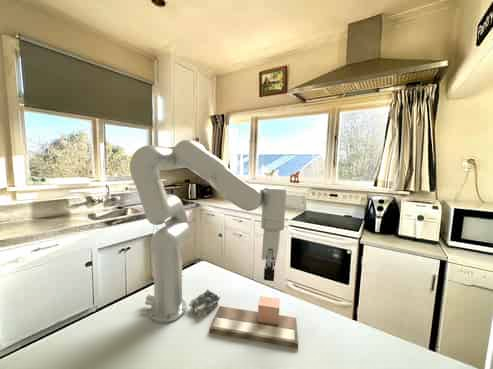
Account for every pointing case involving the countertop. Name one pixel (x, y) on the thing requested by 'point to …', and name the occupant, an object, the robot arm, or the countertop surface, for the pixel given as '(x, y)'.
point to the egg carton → (206, 298)
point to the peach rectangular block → (268, 310)
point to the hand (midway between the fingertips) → (269, 272)
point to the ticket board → (254, 327)
